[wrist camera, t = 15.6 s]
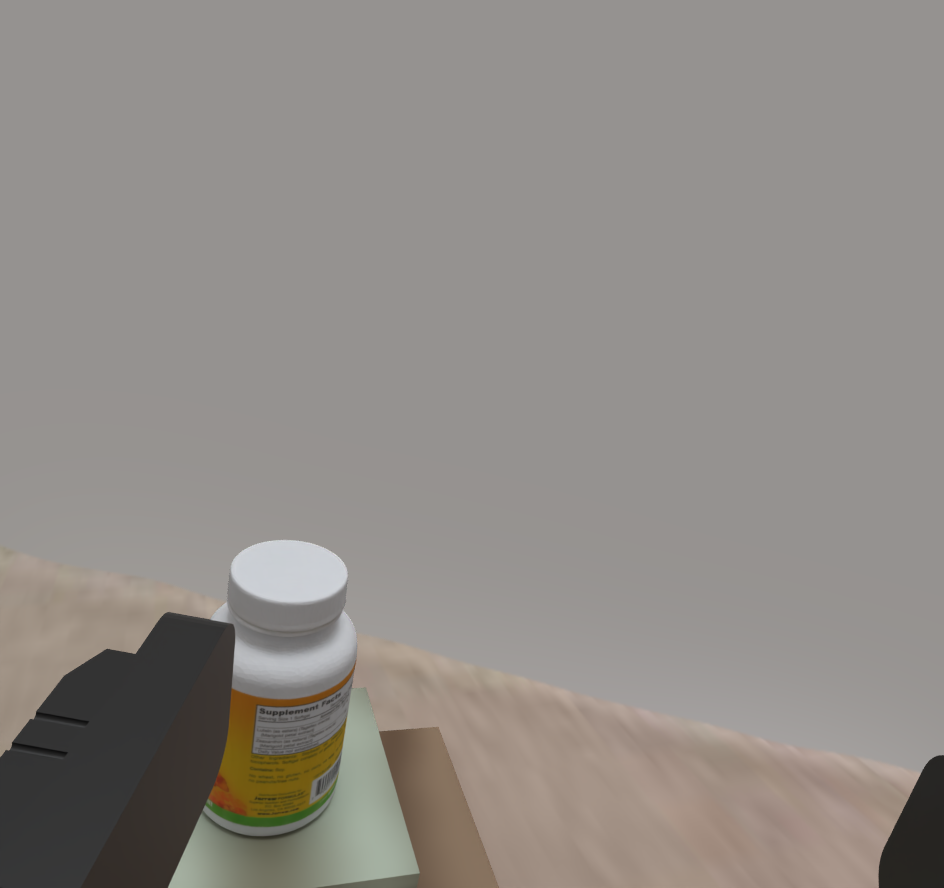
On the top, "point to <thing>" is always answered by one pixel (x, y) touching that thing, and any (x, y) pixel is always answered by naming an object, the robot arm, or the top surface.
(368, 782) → the pedestal
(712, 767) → the top surface
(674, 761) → the top surface
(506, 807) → the top surface
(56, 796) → the robot arm
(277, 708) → the supplement bottle
